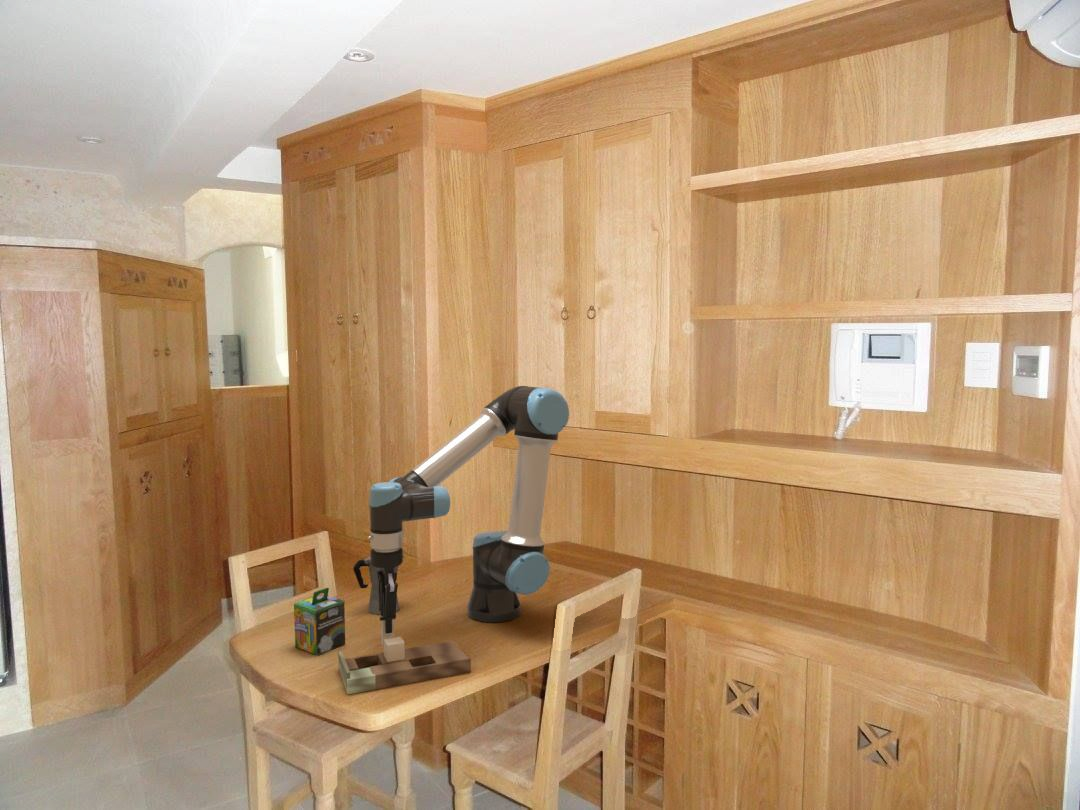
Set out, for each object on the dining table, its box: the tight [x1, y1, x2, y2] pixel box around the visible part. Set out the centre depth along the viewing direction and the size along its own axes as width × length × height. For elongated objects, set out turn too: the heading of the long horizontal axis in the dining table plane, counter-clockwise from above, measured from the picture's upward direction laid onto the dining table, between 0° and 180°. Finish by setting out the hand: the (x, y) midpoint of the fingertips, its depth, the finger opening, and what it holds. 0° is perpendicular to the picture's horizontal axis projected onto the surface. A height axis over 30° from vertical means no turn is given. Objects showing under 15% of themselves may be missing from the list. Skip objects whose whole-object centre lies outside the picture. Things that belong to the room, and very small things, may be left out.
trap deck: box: [337, 640, 472, 695], centre depth 173 cm, size 28×13×4 cm, turn 114°
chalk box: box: [293, 587, 346, 657], centre depth 187 cm, size 9×9×15 cm
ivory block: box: [383, 636, 406, 662], centre depth 175 cm, size 4×4×4 cm
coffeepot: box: [352, 555, 405, 616], centre depth 212 cm, size 15×9×18 cm, turn 126°
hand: (387, 644), depth 179 cm, fingers closed
